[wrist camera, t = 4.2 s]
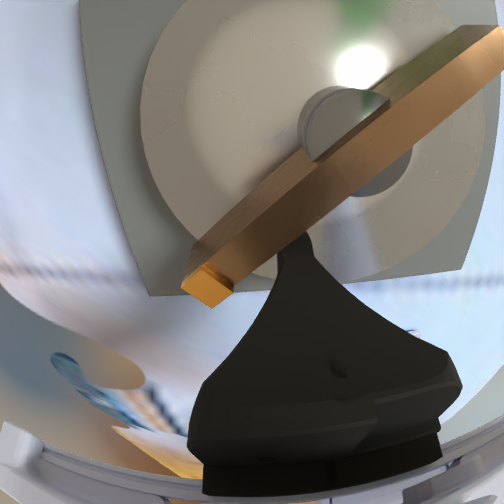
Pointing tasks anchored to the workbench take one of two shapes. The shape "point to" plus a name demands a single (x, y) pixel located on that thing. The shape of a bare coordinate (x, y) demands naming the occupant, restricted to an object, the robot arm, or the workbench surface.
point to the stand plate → (139, 175)
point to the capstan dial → (313, 130)
